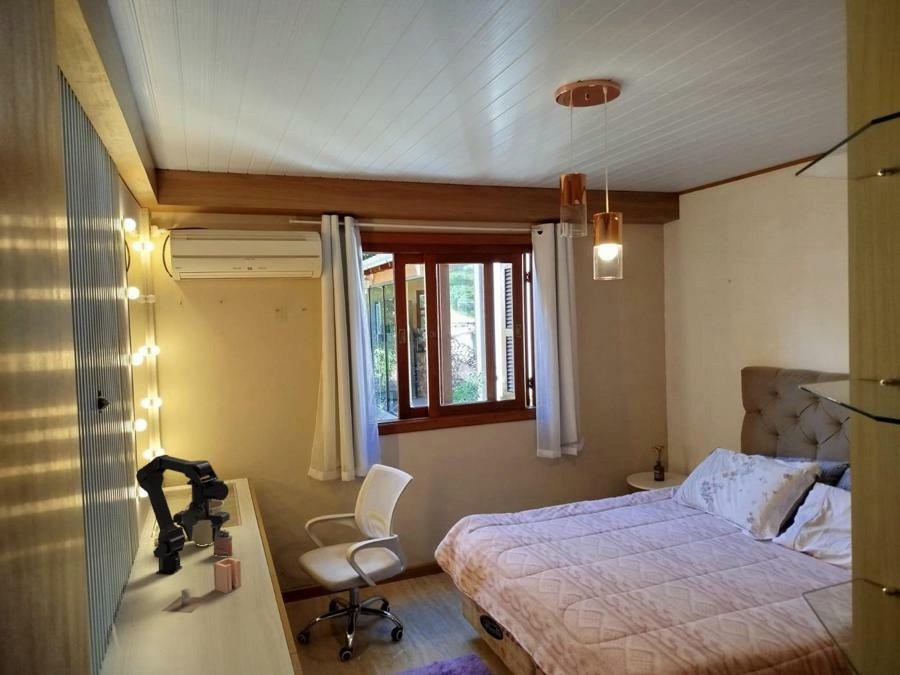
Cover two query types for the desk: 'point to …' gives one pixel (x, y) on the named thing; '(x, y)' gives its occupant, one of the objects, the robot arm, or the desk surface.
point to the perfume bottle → (223, 544)
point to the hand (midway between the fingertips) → (202, 541)
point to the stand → (185, 603)
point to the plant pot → (206, 524)
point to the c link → (227, 574)
